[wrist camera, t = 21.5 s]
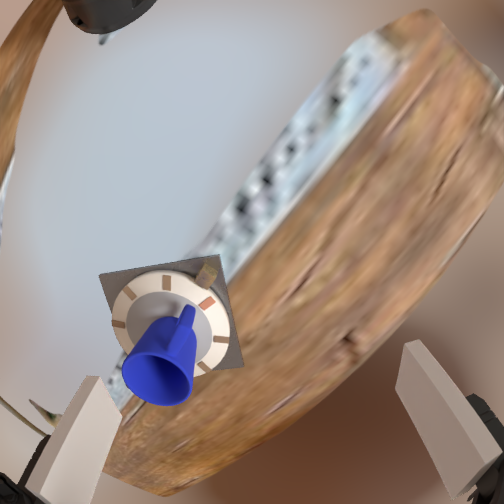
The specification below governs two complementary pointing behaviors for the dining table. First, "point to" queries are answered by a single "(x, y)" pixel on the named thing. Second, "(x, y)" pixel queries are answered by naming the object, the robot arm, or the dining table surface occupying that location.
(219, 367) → the bearing plate
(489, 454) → the robot arm
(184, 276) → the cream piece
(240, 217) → the dining table surface
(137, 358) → the mug
